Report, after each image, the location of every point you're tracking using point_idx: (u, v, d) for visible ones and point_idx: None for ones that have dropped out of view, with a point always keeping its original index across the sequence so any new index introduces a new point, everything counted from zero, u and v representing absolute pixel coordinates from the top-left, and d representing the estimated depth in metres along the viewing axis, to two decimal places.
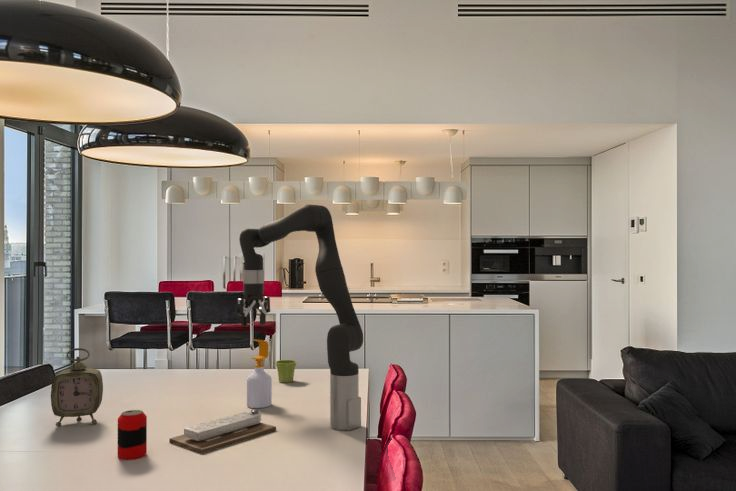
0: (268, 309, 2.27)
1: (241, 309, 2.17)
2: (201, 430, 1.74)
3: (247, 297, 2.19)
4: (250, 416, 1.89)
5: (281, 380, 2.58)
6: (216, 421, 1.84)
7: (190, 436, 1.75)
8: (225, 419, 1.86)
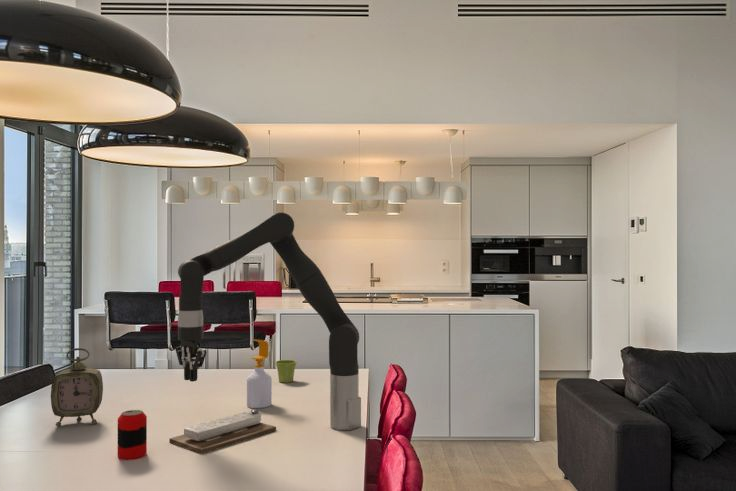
0: None
1: None
2: (201, 430, 1.74)
3: (199, 343, 1.83)
4: (250, 416, 1.89)
5: (281, 380, 2.58)
6: (216, 421, 1.84)
7: (190, 436, 1.75)
8: (225, 419, 1.86)
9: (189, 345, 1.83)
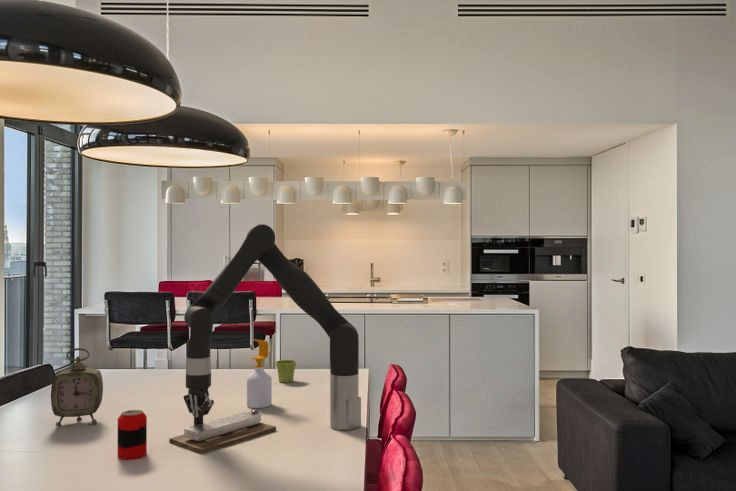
0: None
1: None
2: (201, 430, 1.74)
3: (207, 390, 1.81)
4: (250, 416, 1.89)
5: (281, 380, 2.58)
6: (216, 421, 1.84)
7: (190, 436, 1.75)
8: (225, 419, 1.86)
9: (197, 393, 1.81)
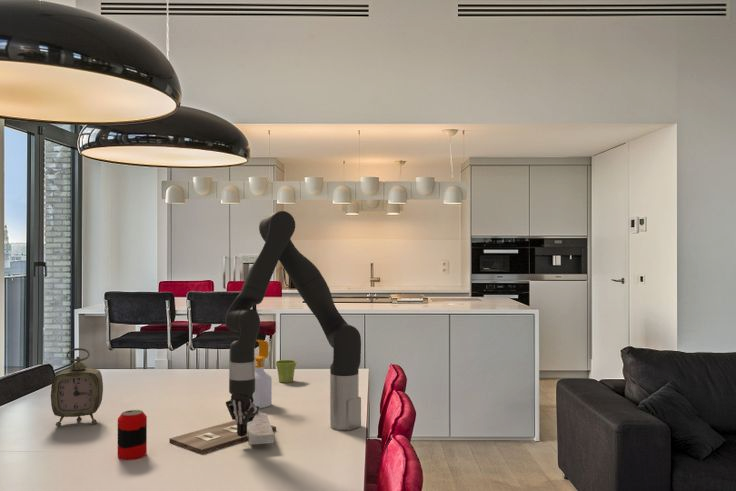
0: None
1: None
2: (269, 432, 1.72)
3: (252, 396, 1.73)
4: (262, 415, 1.90)
5: (281, 380, 2.58)
6: (252, 425, 1.79)
7: (260, 441, 1.70)
8: (253, 422, 1.83)
9: (241, 399, 1.73)
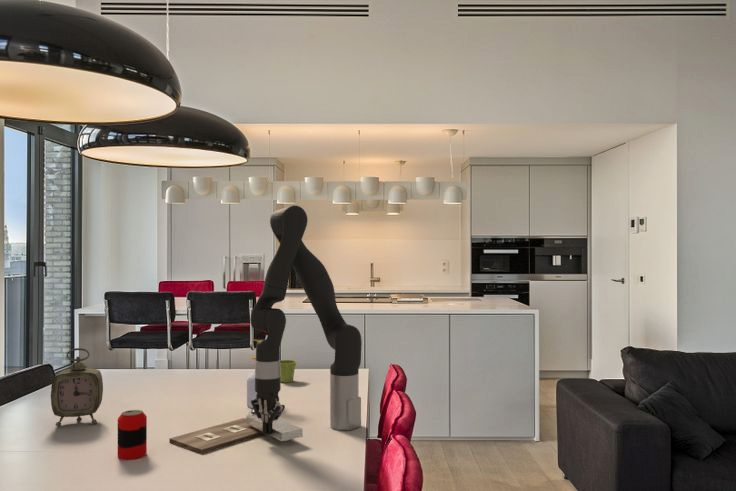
0: None
1: None
2: (295, 427, 1.77)
3: None
4: None
5: (281, 380, 2.58)
6: None
7: (291, 437, 1.74)
8: None
9: (267, 397, 1.75)
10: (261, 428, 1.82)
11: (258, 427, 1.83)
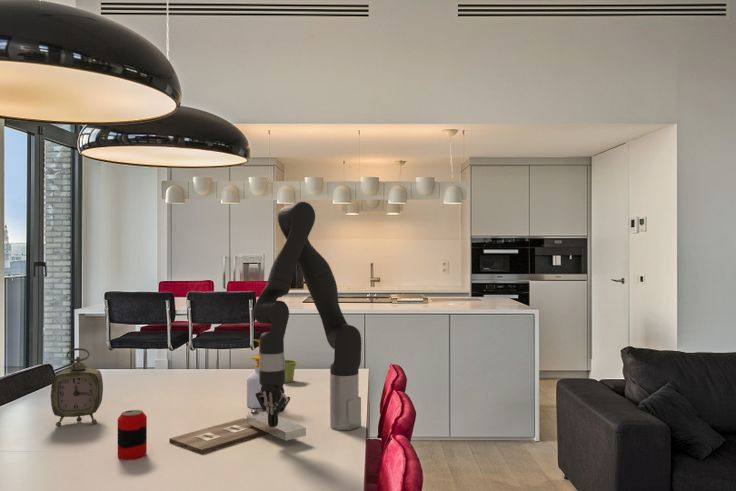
0: None
1: None
2: (299, 426, 1.78)
3: (282, 387, 1.74)
4: (265, 414, 1.92)
5: None
6: None
7: (295, 436, 1.75)
8: None
9: (272, 390, 1.74)
10: (263, 428, 1.82)
11: (260, 427, 1.84)
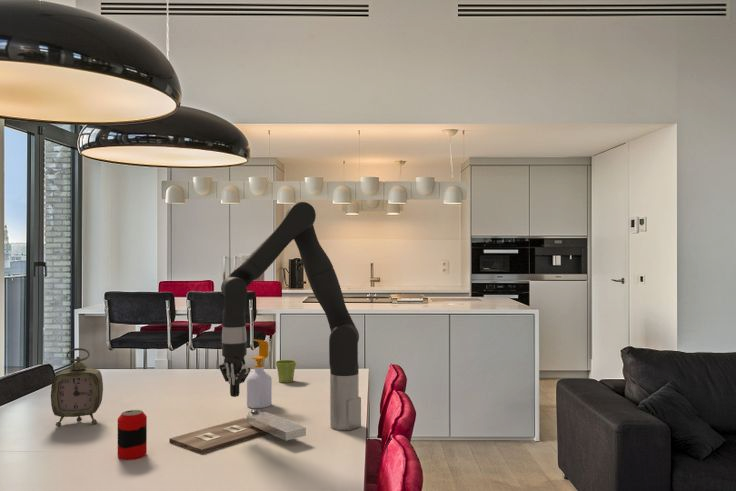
0: None
1: None
2: (299, 426, 1.78)
3: None
4: (265, 414, 1.92)
5: (281, 380, 2.58)
6: (272, 423, 1.82)
7: (295, 436, 1.75)
8: (268, 420, 1.84)
9: (234, 361, 1.85)
10: (263, 428, 1.82)
11: (260, 427, 1.84)
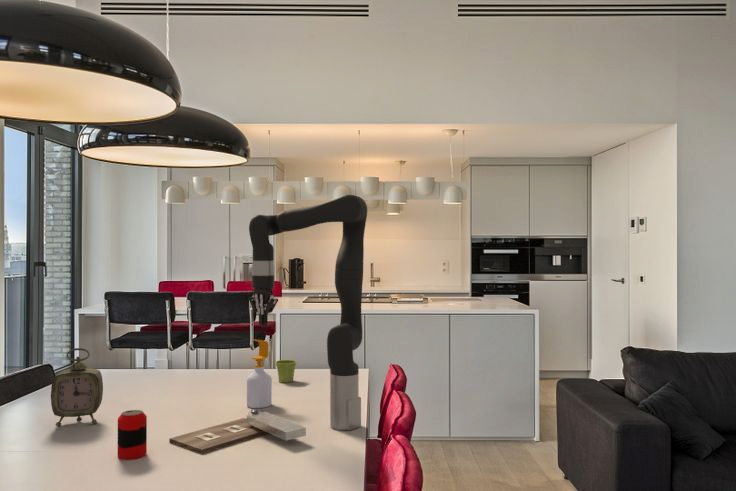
0: None
1: None
2: (299, 426, 1.78)
3: None
4: (265, 414, 1.92)
5: (281, 380, 2.58)
6: (272, 423, 1.82)
7: (295, 436, 1.75)
8: (268, 420, 1.84)
9: (262, 292, 2.00)
10: (263, 428, 1.82)
11: (260, 427, 1.84)
